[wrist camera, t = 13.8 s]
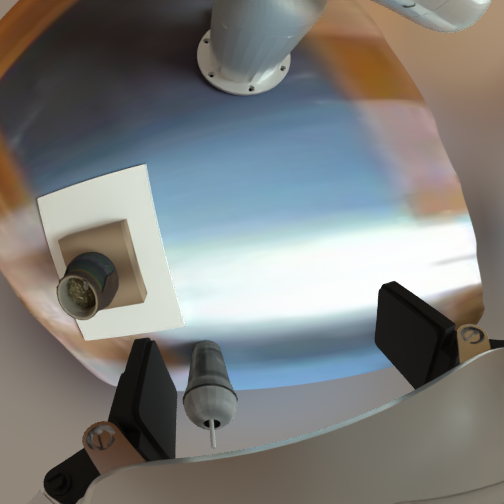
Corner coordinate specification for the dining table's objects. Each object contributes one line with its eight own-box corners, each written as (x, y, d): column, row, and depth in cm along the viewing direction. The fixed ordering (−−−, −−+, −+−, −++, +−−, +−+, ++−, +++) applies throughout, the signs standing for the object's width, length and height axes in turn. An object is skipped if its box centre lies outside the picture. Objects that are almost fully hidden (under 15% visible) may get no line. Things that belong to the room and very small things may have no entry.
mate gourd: (69, 281, 32) (36, 314, 23) (86, 234, 31) (50, 257, 21) (112, 306, 34) (89, 347, 25) (132, 261, 33) (109, 294, 24)
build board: (39, 197, 31) (37, 198, 30) (146, 164, 33) (145, 164, 32) (87, 338, 39) (85, 340, 38) (185, 323, 41) (185, 326, 40)
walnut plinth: (67, 234, 33) (57, 240, 30) (126, 218, 34) (120, 223, 31) (89, 303, 36) (83, 312, 34) (147, 293, 38) (143, 302, 35)
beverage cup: (188, 368, 44) (189, 468, 25) (181, 334, 41) (175, 438, 23) (230, 365, 45) (249, 463, 26) (227, 331, 42) (246, 433, 24)
